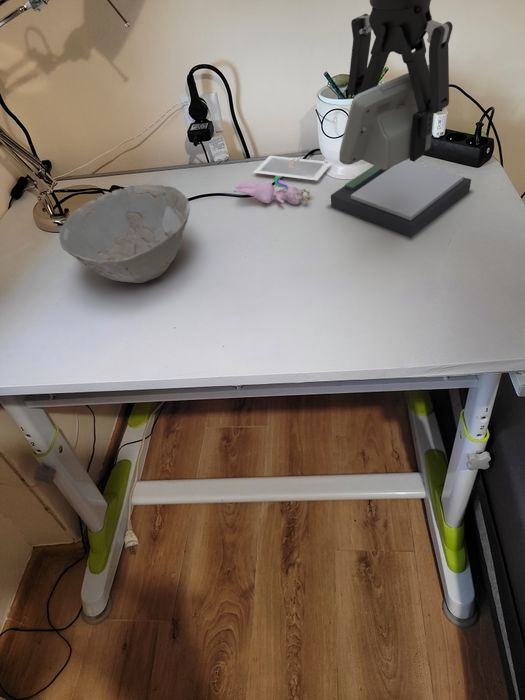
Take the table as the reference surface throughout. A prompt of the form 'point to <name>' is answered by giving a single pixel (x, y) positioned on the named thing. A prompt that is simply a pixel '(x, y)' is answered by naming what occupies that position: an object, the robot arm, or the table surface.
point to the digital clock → (381, 125)
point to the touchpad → (292, 167)
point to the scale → (401, 196)
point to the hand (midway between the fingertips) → (393, 150)
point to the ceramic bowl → (128, 232)
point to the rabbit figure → (272, 191)
